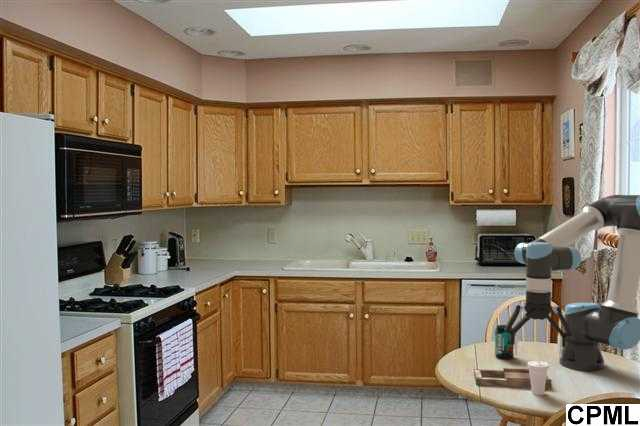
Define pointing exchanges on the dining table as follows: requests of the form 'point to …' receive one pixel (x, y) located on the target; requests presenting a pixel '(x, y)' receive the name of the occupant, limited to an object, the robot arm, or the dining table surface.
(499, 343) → the beverage can
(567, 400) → the dining table surface
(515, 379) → the rail board
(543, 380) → the smoothie
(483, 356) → the dining table surface
